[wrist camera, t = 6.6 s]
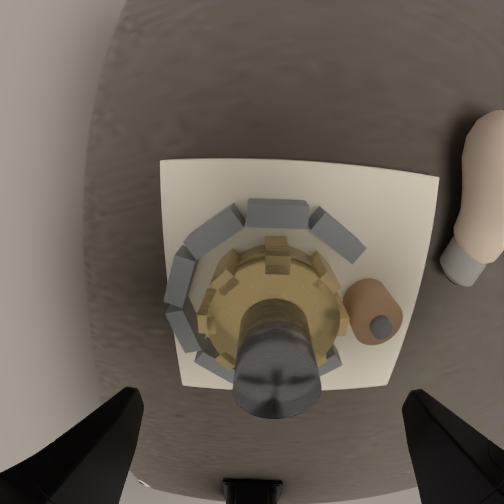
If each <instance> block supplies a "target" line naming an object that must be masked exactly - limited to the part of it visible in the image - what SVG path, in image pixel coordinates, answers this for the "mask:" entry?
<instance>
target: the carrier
mask: <svg viewBox="0 0 504 504" xmlns="http://www.w3.org/2000/svg"><path fill="white" fill-rule="evenodd" d="M160 182H161V206H162V223H163V238H164V250H165V262H166V272H167V282H168V283H167V287H166V292H165V296H164V301H163V302H166V303H169V304H170V306H169V308H168V310H167V311H166V313H165V315H166V317H167V319H168V321H169V323H170V325H171V327H172V329H173V331H174V337H175V344H176V350H177V356H178V362H179V368H180V374H181V379H182V385H184V386H193V387H203V388H215V389H230V390H233V381H234V372H235V367H234V368H232V369H231V370H228V369H227V368H225V367H224V366H222V365H221V364H220V363H219V362H217V361H216V360H215V354H216V349H215V347H214V346H213V344H212V342H211V340H210V338H209V334H203V333H199V330H198V319H197V314H198V311H199V308H200V306H201V303H202V300H203V297H204V295H205V292H206V289H207V288H211V289H214V288H213V287H212V286H211V285H210V283H211V280H212V277H213V274H214V272H215V269H216V266H217V263H218V261H219V260H220V259H221V258H222V257H223V256H224V255H225V254H226V253H227V252H229V251H230V250H231V249H232V248H233V249H234V250H235V251H236V252H237V253H238V254H240V253H242V252H243V251H245V250H248V249H250V248H253V247H256V246H261V245H265V236H284V237H286V238H287V242H288V246H290V247H293V248H296V249H299V250H301V251H303V252H305V253H306V254H308V255H309V256H311V255H312V254H313V253H314V252H315V251H318V252H319V253H320V254H321V255H322V256H323V258H324V259H325V260H326V261H327V262H328V263H329V265H330V266H331V268H332V270H333V272H334V274H335V276H336V278H337V280H338V282H339V284H340V286H341V288H340V289H339V290H338V291H337V292H338V294H339V296H340V298H341V300H342V303H343V305H344V307H345V309H346V311H347V313H348V316H349V318H350V319H349V324H348V328H347V333H346V336H337V337H336V339H335V341H334V343H333V345H332V346H331V348H330V349H329V350H328V351H327V353H326V358H327V362H326V363H324V364H323V365H321V366H320V367H318V371H319V376H320V381H321V387H322V389H321V390H338V389H352V388H363V387H373V386H382V385H387V383H388V381H389V378H390V376H391V373H392V371H393V368H394V366H395V363H396V360H397V358H398V355H399V352H400V349H401V347H402V344H403V341H404V338H405V335H406V332H407V329H408V326H409V322H410V319H411V316H412V313H413V309H414V306H415V302H416V299H417V295H418V291H419V288H420V284H421V280H422V276H423V271H424V267H425V263H426V258H427V254H428V249H429V244H430V238H431V233H432V227H433V221H434V215H435V208H436V201H437V193H438V184H439V177H436V176H432V175H427V174H421V173H414V172H408V171H401V170H394V169H387V168H379V167H370V166H362V165H352V164H342V163H330V162H318V161H303V160H284V159H255V158H194V159H166V160H161V161H160Z"/></svg>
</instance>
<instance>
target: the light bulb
mask: <svg viewBox="0 0 504 504" xmlns="http://www.w3.org/2000/svg"><path fill="white" fill-rule="evenodd" d="M453 229H454V237H453V238H452V239H451V241H450V242H449V244H448V246H447V247H446V249H445V250H444V252H443V254H442V255H441V257H440V264H441V266H442V268H443V270H444V274H445V276H446V277H447V278H448V280H450V281H451V282H452V283H454V284H458V285H462V286H466V287H468V286H472V285H473V283H474V282H475V281H476V279H477V278H478V276H479V275H480V274H481V272H482V271H483V269H484V268H485V267H486V264H487V263H491V262H494V261H495V260H496V259H497V258H498V256H499V255H500V254H501V253H502V252H503V251H504V110H497V111H491V112H489V113H488V114H486V115H485V116H483V117H481V118H480V119H478V120H477V121H476V123H475V124H474V126H473V127H472V129H471V130H470V132H469V133H468V135H467V136H466V140H465V145H464V149H463V154H462V198H461V209H460V212H459V215H458V218H457V220H456V222H455V225H454V227H453Z"/></svg>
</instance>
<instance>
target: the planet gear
mask: <svg viewBox="0 0 504 504" xmlns="http://www.w3.org/2000/svg"><path fill="white" fill-rule="evenodd" d="M210 285H211V286H212V287H213V288H214V289H211V288H207V289H206V292H205V295H204V297H203V300H202V303H201V306H200V308H199V311H198V314H197V319H198V330H199V333H203V334H209V338H210V340H211V342H212V344H213V346H214V347H215V349H216V354H215V360H216V361H217V362H219V363H220V364H221V365H222V366H224V367H225V368H227V369H228V370H231V369H232V368H234V367H235V372H234V381H233V390H232V393H233V398H234V400H235V402H236V403H237V405H238V406H239V407H240V408H241V409H243V410H244V411H246V412H247V413H249V414H251V415H254V416H257V417H261V418H267V419H282V418H288V417H292V416H296V415H298V414H301V413H303V412H305V411H306V410H308V409H309V408H310V407H312V406H313V405H314V404H315V403H316V401H317V400H318V398H319V397H320V394H321V389H322V387H321V381H320V376H319V371H318V367H320V366H321V365H323V364H324V363H326V362H327V358H326V353H327V351H328V350H329V349H330V348H331V346H332V345H333V343H334V341H335V339H336V337H337V336H346V333H347V328H348V324H349V319H350V318H349V316H348V313H347V311H346V309H345V307H344V305H343V303H342V300H341V298H340V296H339V294H338V292H337V291H338V290H339V289H340V288H341V286H340V284H339V282H338V280H337V278H336V276H335V274H334V272H333V270H332V268H331V266H330V265H329V263H328V262H327V261H326V260H325V259H324V258H323V256H322V255H321V254H320V253H319V252H318V251H315V252H314V253H313V254H312V255H311V256H309V255H308V254H306V253H305V252H303V251H301V250H299V249H296V248H293V247H290V246H288V242H287V238H286V237H284V236H265V245H261V246H256V247H253V248H250V249H248V250H245V251H243V252H242V253H240V254H238V253H237V252H236V251H235V250H234V249H233V248H232V249H231V250H230V251H229V252H227V253H226V254H225V255H224V256H223V257H222V258H221V259H220V260H219V261H218V263H217V266H216V269H215V272H214V274H213V277H212V280H211V283H210Z"/></svg>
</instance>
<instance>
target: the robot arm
mask: <svg viewBox="0 0 504 504" xmlns="http://www.w3.org/2000/svg"><path fill="white" fill-rule="evenodd" d="M143 411H144V404H143V401H142V398H141V395H140V392H139V390H138V389H137V388H133V387H125V388H123V389H122V390H121V391H120V392H118V393H117V394H116V395H114V396H113V397H112V398H110V399H109V400H108V401H107V402H105V403H104V404H103V405H101V406H100V407H99V408H98V409H96V410H95V411H94V412H92V413H91V414H90V415H88V416H87V417H86V418H85V419H83V420H82V421H80V422H79V423H78V424H76V425H75V426H74V427H72V428H71V429H70V430H68V431H67V432H65V433H64V434H63V435H62V436H60V437H59V438H57V439H56V440H55V441H54V442H52V443H50V444H49V445H48V446H46V447H45V448H43V449H42V450H41V451H39V452H38V453H36V454H35V455H33V456H31V457H29V458H28V459H26V460H24V461H22V462H20V463H18V464H17V465H15V466H13V467H11V468H9V469H7V470H5V471H3V472H1V473H0V504H119V500H120V497H121V494H122V491H123V487H124V484H125V481H126V477H127V474H128V471H129V468H130V465H131V462H132V459H133V456H134V453H135V449H136V446H137V441H138V436H139V431H140V426H141V421H142V416H143ZM402 414H403V419H404V425H405V431H406V438H407V444H408V449H409V453H410V456H411V460H412V464H413V468H414V472H415V476H416V480H417V485H418V489H419V493H420V498H421V503H422V504H504V450H503V449H501V448H500V447H498V446H497V445H496V444H494V443H493V442H492V441H490V440H488V439H487V438H486V437H485V436H483V435H482V434H481V433H479V432H478V431H477V430H475V429H474V428H473V427H471V426H470V425H469V424H467V423H466V422H465V421H463V420H462V419H461V418H459V417H458V416H457V415H455V414H454V413H453V412H452V411H450V410H449V409H448V408H446V407H445V406H444V405H442V404H441V403H440V402H438V401H437V400H436V399H434V398H433V397H432V396H430V395H429V394H428V393H426V392H425V391H424V390H422V389H417V390H412V391H410V393H409V394H408V396H407V398H406V400H405V402H404V404H403V407H402ZM222 485H223V491H224V497H225V500H226V504H277V501H278V500H279V496H280V493H281V490H282V486H283V482H281V481H242V480H223V482H222Z"/></svg>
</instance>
